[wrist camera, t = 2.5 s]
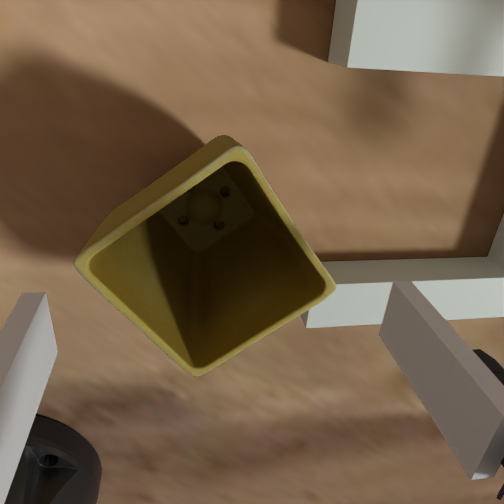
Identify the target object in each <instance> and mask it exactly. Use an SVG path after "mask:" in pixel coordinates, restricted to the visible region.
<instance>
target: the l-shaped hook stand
mask: <svg viewBox="0 0 504 504" xmlns="http://www.w3.org/2000/svg"><path fill="white" fill-rule="evenodd" d="M328 62H329V63H332V64H336V65H340V66H343V67H348V68H365V69H383V70H400V71H418V72H435V73H452V74H470V75H487V76H504V0H336V6H335V13H334V20H333V28H332V35H331V42H330V50H329V57H328ZM321 263H322V264H323V266H324V267H325V268H326V270H327V271H328V273H329V274H330V275H331V277H332V279H333V280H334V281H335V283H336V290H335V291H334V292H333V293H332V294H331V295H329V296H328V297H327V298H326V299H325V300H323V301H322V302H321V303H319V304H317V305H315V306H314V307H312V308H311V309H309V310H308V311H306V312H304V313H302V314H301V318H302V320H303V322H304V325H305V327H306V328H317V327H334V326H351V325H368V324H382V321H383V317H384V314H385V310H386V306H387V302H388V299H389V295H390V291H391V287H392V284H393V281H411V282H412V283H413V284H414V285H415V286H416V287H417V288H418V290H419V291H420V292H421V293H422V294H423V295H424V296H425V297H426V299H427V300H428V301H429V302H430V303H431V304H432V305H433V306H434V308H435V309H436V310H437V311H438V312H439V313H440V314H441V315H442V317H443V318H444V319H445V320H454V319H471V318H488V317H504V214H503V216H502V219H501V222H500V224H499V227H498V230H497V232H496V235H495V238H494V240H493V243H492V246H491V248H490V251H489V254H488V256H487V257H463V258H429V259H395V260H361V261H327V262H321Z"/></svg>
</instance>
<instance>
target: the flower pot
mask: <svg viewBox="0 0 504 504" xmlns="http://www.w3.org/2000/svg"><path fill="white" fill-rule="evenodd" d="M192 187H193V189H192V190H189V189H190V188H192ZM225 187H226V188H228V189H229V194H228V195H227V196H223V195H221V192H220V191H221V189H222V188H225ZM181 216H185V217H187V219H188V221H187V223H185V224H181V223H180V222H179V218H180V217H181ZM217 221H221V222H222V223H223V226H222V227H221V228H216V227H215V226H214V224H215V222H217ZM73 264H74V266H75V268H76V269H77V271H78V272H79V273H80V274H81V275H82V276H83V277H84V278H85V279H86V280H87V281H88V282H89V283H90V284H91V285H92V286H93V287H94V288H95V289H97V290H98V291H99V292H100V293H101V294H102V295H103V296H104V297H105V298H106V299H107V300H108V301H109V302H110V303H112V304H113V305H114V306H115V307H116V308H117V309H118V310H119V311H120V312H122V313H123V314H124V315H125V316H126V317H127V318H128V319H129V320H130V321H131V322H132V323H133V324H134V325H136V326H137V327H138V328H139V329H140V330H141V331H142V332H144V333H145V334H146V335H147V336H148V337H149V338H150V339H151V340H152V341H153V342H154V343H155V344H156V345H157V346H158V347H160V348H161V349H162V350H163V351H164V352H165V353H166V354H167V355H168V356H169V357H170V358H171V359H172V360H173V361H174V362H175V363H177V364H178V365H179V366H180V367H181V368H182V369H184V370H185V371H187V372H188V373H189V374H191V375H193V376H195V377H197V376H200V375H202V374H204V373H206V372H208V371H210V370H212V369H213V368H215V367H217V366H218V365H220V364H222V363H223V362H225V361H226V360H228V359H229V358H231V357H232V356H234V355H235V354H237V353H239V352H240V351H242V350H244V349H245V348H247V347H248V346H250V345H251V344H253V343H255V342H256V341H258V340H259V339H261V338H262V337H264V336H266V335H268V334H269V333H271V332H272V331H274V330H276V329H277V328H279V327H281V326H282V325H284V324H286V323H287V322H289V321H291V320H293V319H294V318H296V317H298V316H299V315H301V314H302V313H304V312H306V311H308V310H309V309H311V308H312V307H314V306H315V305H317V304H319V303H321V302H322V301H323V300H325V299H326V298H327V297H328V296H329V295H331V294H332V293H333V292H334V291H335V290H336V283H335V281H334V280H333V279H332V277H331V275H330V274H329V273H328V271H327V270H326V268H325V267H324V266H323V264H322V263H321V262H320V260H319V259H318V257H317V256H316V255H315V253H314V252H313V250H312V249H311V247H310V246H309V245H308V243H307V242H306V240H305V239H304V237H303V236H302V234H301V233H300V231H299V230H298V229H297V227H296V225H295V224H294V222H293V221H292V219H291V218H290V216H289V215H288V213H287V211H286V210H285V208H284V207H283V205H282V204H281V202H280V200H279V199H278V197H277V196H276V194H275V192H274V191H273V189H272V188H271V186H270V185H269V183H268V182H267V180H266V178H265V177H264V175H263V174H262V172H261V170H260V169H259V167H258V165H257V164H256V162H255V161H254V159H253V157H252V156H251V154H250V153H249V151H248V150H247V149H246V148H245V147H243V146H242V145H241V144H239V143H238V142H237V141H235V140H234V139H233V138H231V137H229V136H226V135H221V136H218V137H216V138H214V139H213V140H211V141H210V142H208V143H207V144H206V145H204V146H203V147H202V148H200V149H199V150H198V151H196V152H195V153H193V154H192V155H191V156H189V157H188V158H187V159H185V160H184V161H182V162H181V163H180V164H178V165H177V166H175V167H174V168H173V169H171V170H170V171H168V172H167V173H166V174H164V175H163V176H161V177H160V178H158V179H157V180H156V181H154V182H153V183H151V184H150V185H148V186H147V187H146V188H144V189H143V190H141V191H140V192H138V193H137V194H135V195H134V196H133V197H131V198H130V199H128V200H127V201H125V202H123V203H122V204H120V205H119V206H118V207H116V208H115V209H114V210H113V211H111V212H110V213H109V214H108V215H107V216H106V218H105V219H104V220H103V221H102V223H101V224H100V225H99V227H98V228H97V229H96V231H95V232H94V233H93V235H92V236H91V237H90V239H89V240H88V241H87V243H86V244H85V245H84V247H83V248H82V250H81V251H80V252H79V254H78V255H77V256H76V258H75V260H74V262H73Z"/></svg>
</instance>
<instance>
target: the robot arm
mask: <svg viewBox="0 0 504 504" xmlns="http://www.w3.org/2000/svg"><path fill="white" fill-rule="evenodd" d="M379 336H380V337H381V339H382V340H383V342H384V344H385V345H386V347H387V348H388V350H389V351H390V353H391V355H392V356H393V358H394V359H395V361H396V362H397V364H398V366H399V367H400V369H401V370H402V372H403V373H404V375H405V377H406V378H407V380H408V381H409V383H410V384H411V386H412V388H413V389H414V391H415V392H416V394H417V395H418V397H419V399H420V400H421V402H422V403H423V405H424V406H425V408H426V410H427V411H428V413H429V414H430V416H431V417H432V419H433V421H434V422H435V424H436V425H437V427H438V428H439V430H440V432H441V433H442V435H443V436H444V438H445V439H446V441H447V443H448V444H449V446H450V447H451V449H452V450H453V452H454V454H455V455H456V457H457V458H458V460H459V461H460V463H461V465H462V466H463V468H464V469H465V471H466V472H467V474H468V476H469V477H470V479H471V480H473V479H481V478H489V477H494V476H495V474H496V472H497V470H498V469H499V467H500V465H501V464H502V465H503V467H504V369H503V368H502V367H501V366H500V364H499V363H498V362H497V361H496V360H495V359H494V358H492V357H491V356H489V355H488V354H486V353H485V352H483V351H482V350H480V349H477V350H472V349H471V348H470V347H469V346H468V345H467V344H466V342H465V341H464V340H463V339H462V338H461V337H460V336H459V335H458V333H457V332H456V331H455V330H454V329H453V328H452V327H451V326H450V324H449V323H448V322H447V321H446V320H445V319H444V318H443V317H442V315H441V314H440V313H439V312H438V311H437V310H436V309H435V308H434V306H433V305H432V304H431V303H430V302H429V301H428V300H427V299H426V297H425V296H424V295H423V294H422V293H421V292H420V291H419V290H418V288H417V287H416V286H415V285H414V284H413V283H412V282H411V281H393V284H392V287H391V291H390V295H389V299H388V302H387V306H386V310H385V314H384V317H383V321H382V325H381V328H380V332H379ZM57 353H58V350H57V345H56V341H55V336H54V331H53V326H52V321H51V316H50V311H49V306H48V301H47V297H46V292H41V293H22V294H21V296H20V298H19V300H18V301H17V303H16V305H15V307H14V309H13V310H12V312H11V314H10V316H9V317H8V319H7V321H6V323H5V325H4V326H3V328H2V330H1V332H0V504H96V502H97V499H98V493H99V487H100V480H101V472H102V469H101V463H100V459H99V457H98V454H97V453H96V451H95V449H94V448H93V447H92V445H91V444H90V443H89V442H88V441H87V440H86V439H85V438H84V437H83V436H81V435H80V434H79V433H77V432H76V431H74V430H72V429H71V428H69V427H67V426H65V425H63V424H61V423H58V422H56V421H53V420H50V419H47V418H44V417H40V416H36V413H37V410H38V407H39V404H40V401H41V398H42V396H43V393H44V390H45V387H46V384H47V381H48V379H49V376H50V373H51V370H52V367H53V365H54V362H55V359H56V356H57ZM503 495H504V484H503V486H502V488H501V489H500V491H499V493H498V495H497V499H499V500H501V498H502V497H503Z"/></svg>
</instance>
